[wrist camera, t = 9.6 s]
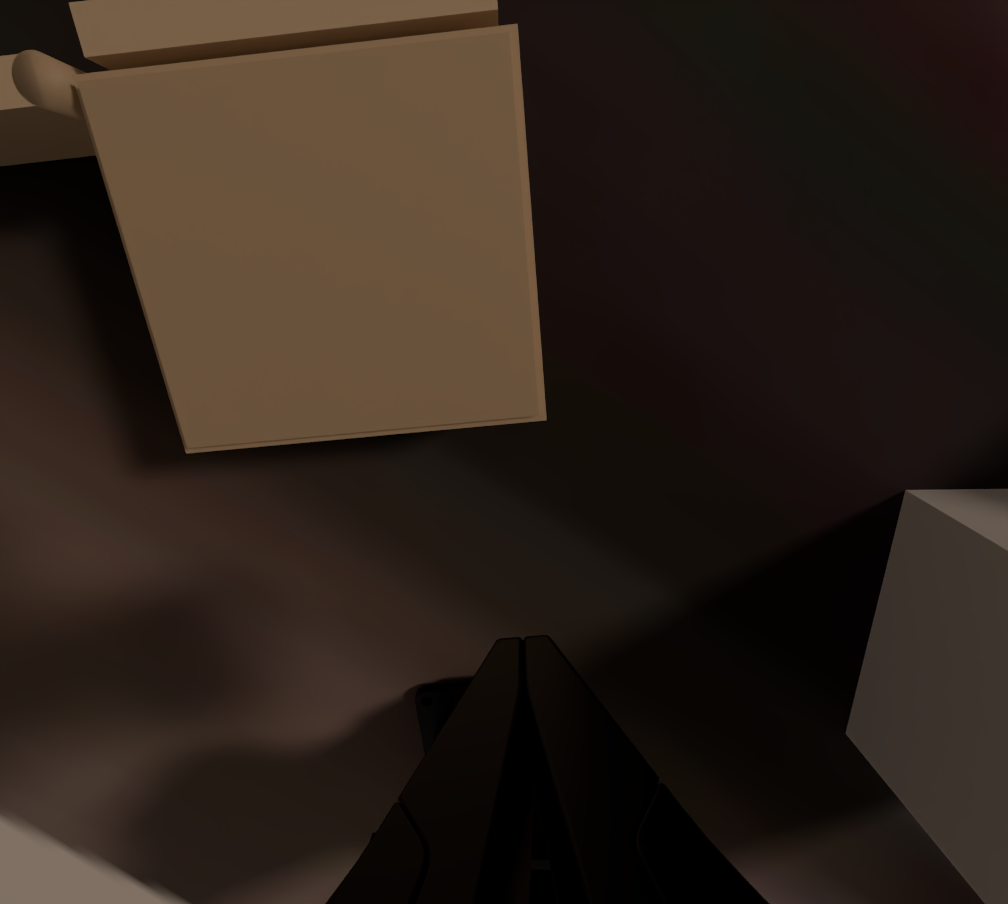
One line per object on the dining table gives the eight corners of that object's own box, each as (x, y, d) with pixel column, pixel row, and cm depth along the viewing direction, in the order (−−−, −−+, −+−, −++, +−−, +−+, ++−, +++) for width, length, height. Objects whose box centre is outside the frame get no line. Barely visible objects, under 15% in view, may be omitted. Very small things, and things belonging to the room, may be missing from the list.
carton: (536, 382, 20) (547, 422, 15) (261, 408, 20) (182, 456, 15) (509, 41, 16) (512, -56, 11) (179, 78, 17) (42, 0, 12)
